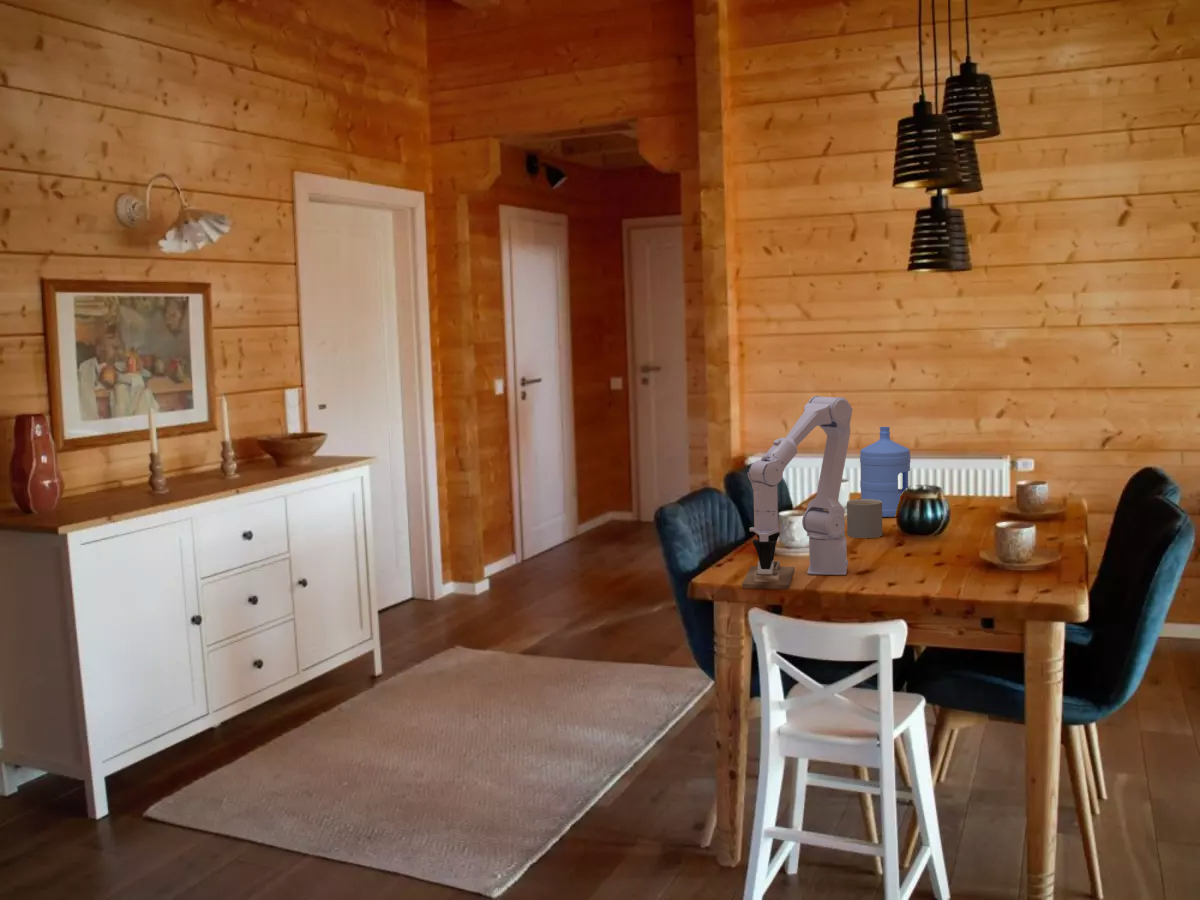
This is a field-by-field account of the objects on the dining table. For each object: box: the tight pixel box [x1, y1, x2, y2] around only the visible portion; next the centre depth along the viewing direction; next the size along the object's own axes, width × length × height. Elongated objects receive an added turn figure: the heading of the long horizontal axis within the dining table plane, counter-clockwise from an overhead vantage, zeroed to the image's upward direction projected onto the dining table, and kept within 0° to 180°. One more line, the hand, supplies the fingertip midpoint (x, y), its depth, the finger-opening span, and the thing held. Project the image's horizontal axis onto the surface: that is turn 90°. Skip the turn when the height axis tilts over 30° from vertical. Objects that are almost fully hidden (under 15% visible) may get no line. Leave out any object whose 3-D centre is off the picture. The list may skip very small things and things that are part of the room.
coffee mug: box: [846, 498, 883, 539], centre depth 332 cm, size 13×10×10 cm
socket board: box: [741, 560, 795, 590], centre depth 281 cm, size 11×20×2 cm, turn 167°
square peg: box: [757, 559, 774, 576], centre depth 277 cm, size 4×4×4 cm
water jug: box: [859, 426, 911, 517], centre depth 364 cm, size 16×16×28 cm
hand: (767, 565), depth 276 cm, fingers open, 7 cm apart
